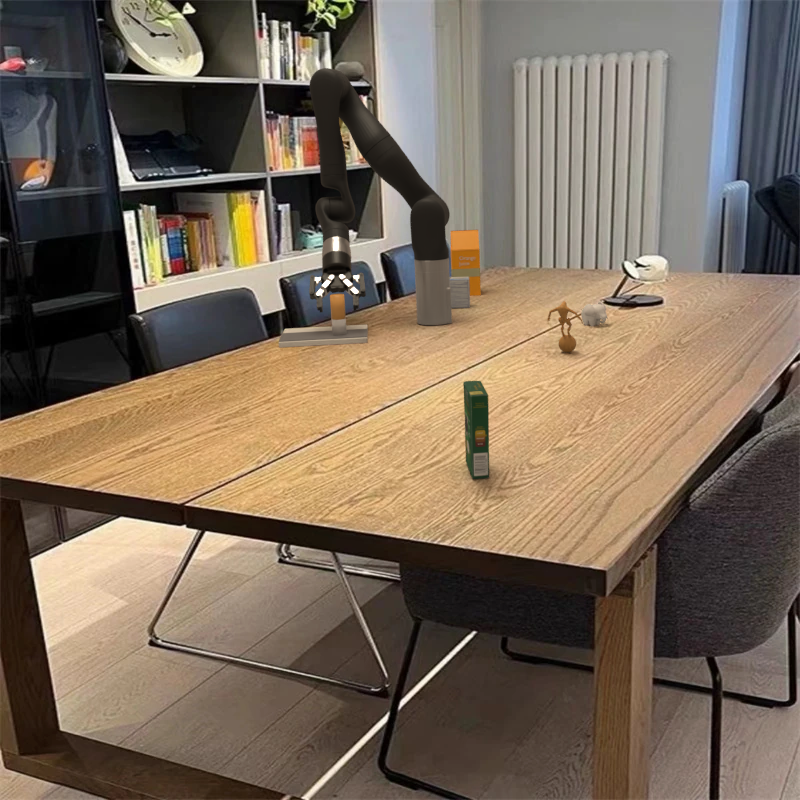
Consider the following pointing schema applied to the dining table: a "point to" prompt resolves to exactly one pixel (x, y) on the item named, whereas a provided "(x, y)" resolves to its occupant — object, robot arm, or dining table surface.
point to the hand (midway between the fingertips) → (338, 309)
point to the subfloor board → (322, 336)
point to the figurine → (566, 341)
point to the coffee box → (476, 429)
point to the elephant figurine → (594, 314)
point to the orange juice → (466, 258)
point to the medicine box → (460, 292)
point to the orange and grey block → (338, 314)
